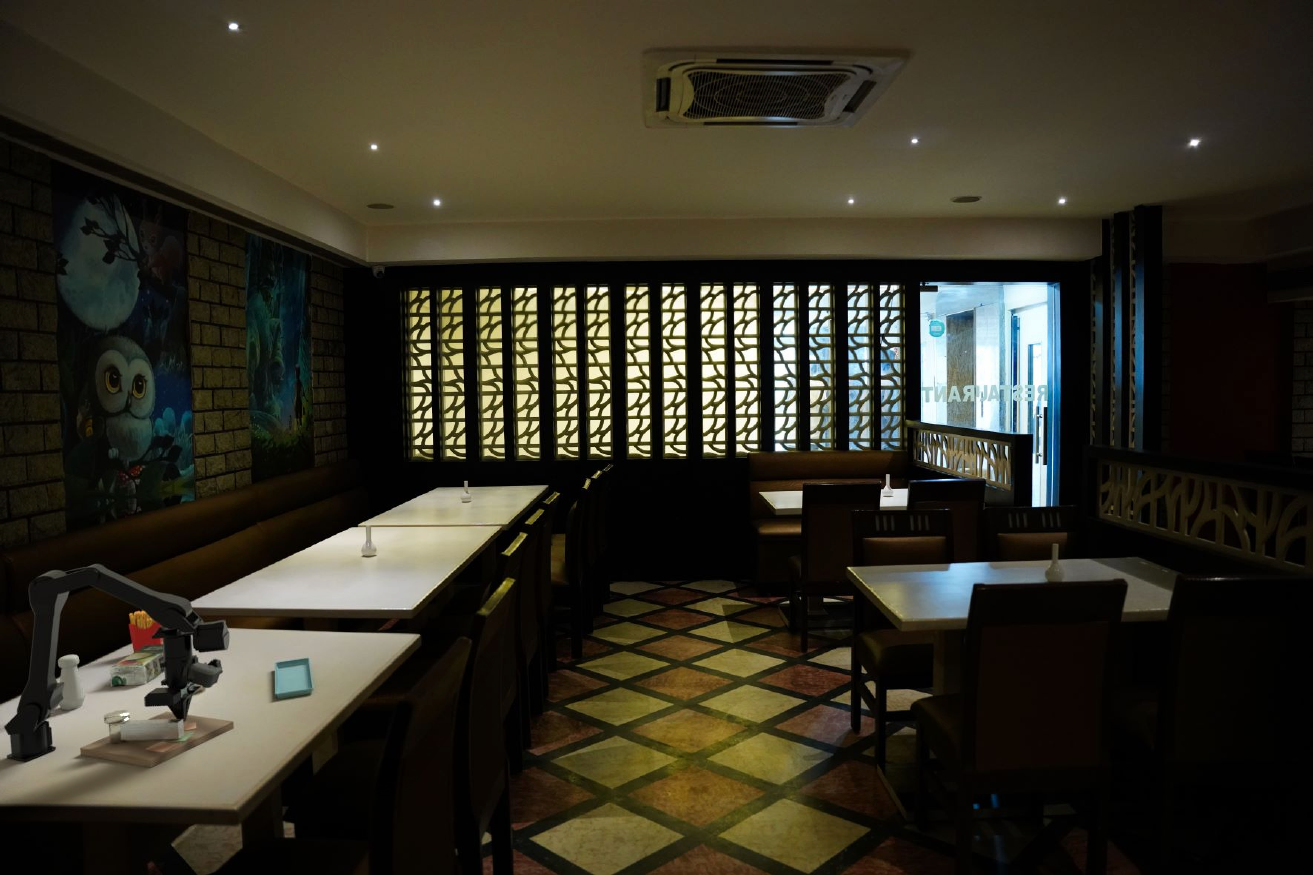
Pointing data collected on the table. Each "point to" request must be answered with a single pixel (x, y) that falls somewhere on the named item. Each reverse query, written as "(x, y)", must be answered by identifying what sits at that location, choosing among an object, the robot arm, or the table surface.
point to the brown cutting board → (158, 742)
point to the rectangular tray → (293, 678)
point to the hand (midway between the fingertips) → (182, 721)
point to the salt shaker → (71, 683)
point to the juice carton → (138, 666)
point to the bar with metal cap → (141, 727)
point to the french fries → (143, 630)
